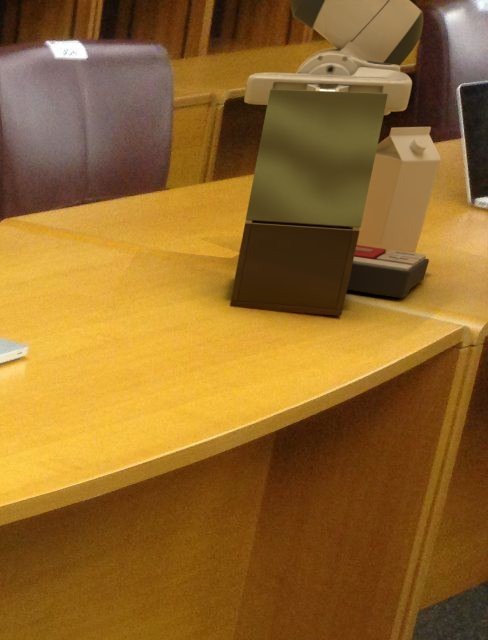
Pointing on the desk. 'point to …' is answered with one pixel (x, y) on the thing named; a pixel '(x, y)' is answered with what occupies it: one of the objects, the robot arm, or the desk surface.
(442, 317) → the desk surface
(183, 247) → the desk surface
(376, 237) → the milk carton
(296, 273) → the chest
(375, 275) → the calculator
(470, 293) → the desk surface
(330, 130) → the lid
